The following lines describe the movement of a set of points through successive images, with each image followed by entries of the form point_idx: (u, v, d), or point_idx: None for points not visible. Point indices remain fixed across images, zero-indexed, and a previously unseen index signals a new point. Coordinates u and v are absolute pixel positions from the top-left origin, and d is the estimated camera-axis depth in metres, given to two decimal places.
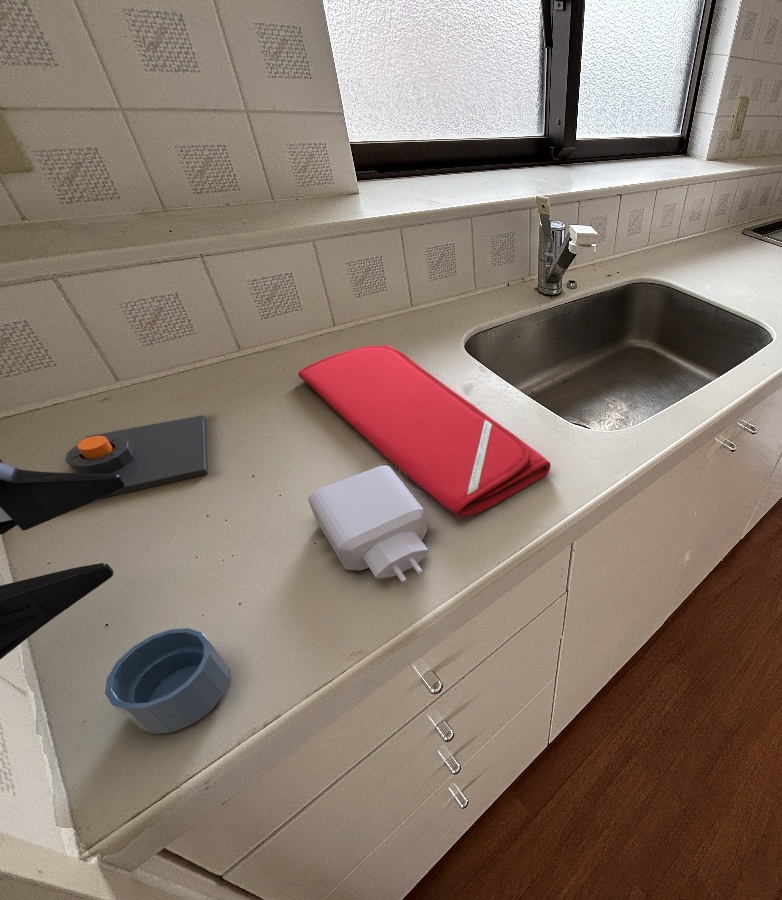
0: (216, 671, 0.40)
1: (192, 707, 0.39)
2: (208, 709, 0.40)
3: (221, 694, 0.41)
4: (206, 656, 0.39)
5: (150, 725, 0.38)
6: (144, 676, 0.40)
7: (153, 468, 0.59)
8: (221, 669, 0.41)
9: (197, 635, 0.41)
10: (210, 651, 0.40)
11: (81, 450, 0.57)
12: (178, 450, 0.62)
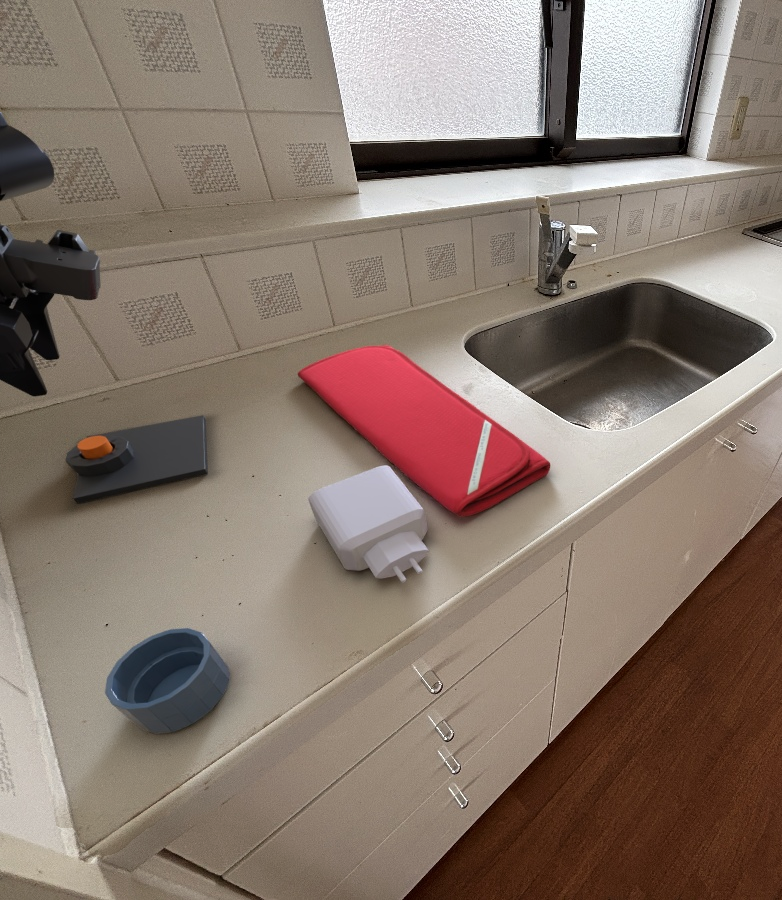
0: (216, 671, 0.40)
1: (192, 707, 0.39)
2: (208, 709, 0.40)
3: (221, 694, 0.41)
4: (206, 656, 0.39)
5: (150, 725, 0.38)
6: (144, 676, 0.40)
7: (153, 468, 0.59)
8: (221, 669, 0.41)
9: (197, 635, 0.41)
10: (210, 651, 0.40)
11: (81, 450, 0.57)
12: (178, 450, 0.62)
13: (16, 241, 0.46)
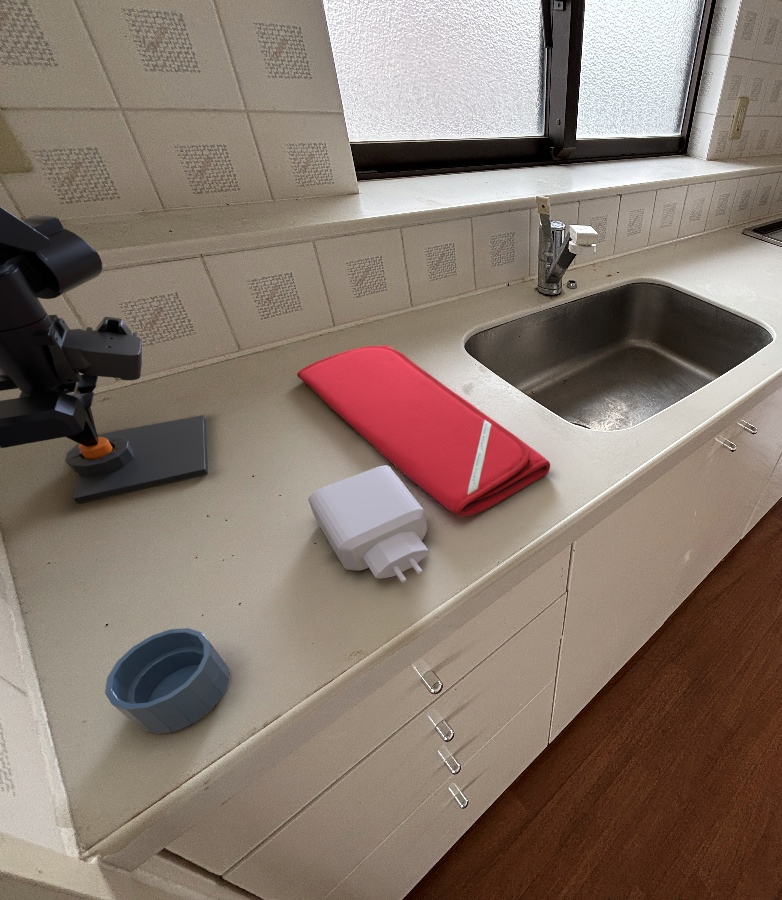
0: (216, 671, 0.40)
1: (192, 707, 0.39)
2: (208, 709, 0.40)
3: (221, 694, 0.41)
4: (206, 656, 0.39)
5: (150, 725, 0.38)
6: (144, 676, 0.40)
7: (153, 468, 0.59)
8: (221, 669, 0.41)
9: (197, 635, 0.41)
10: (210, 651, 0.40)
11: (82, 451, 0.57)
12: (178, 450, 0.62)
13: (71, 331, 0.52)
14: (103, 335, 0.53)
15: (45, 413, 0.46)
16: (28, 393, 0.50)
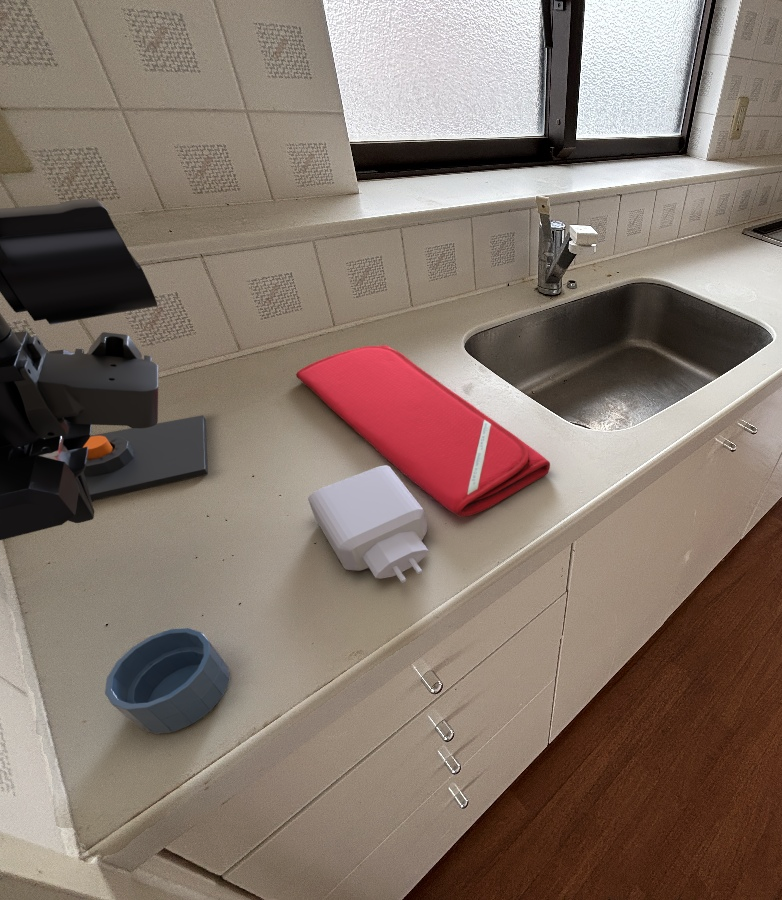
0: (216, 671, 0.40)
1: (192, 707, 0.39)
2: (208, 709, 0.40)
3: (221, 694, 0.41)
4: (206, 656, 0.39)
5: (150, 725, 0.38)
6: (144, 676, 0.40)
7: (153, 468, 0.59)
8: (221, 669, 0.41)
9: (197, 635, 0.41)
10: (210, 651, 0.40)
11: None
12: (178, 450, 0.62)
13: (51, 356, 0.34)
14: (101, 361, 0.35)
15: (12, 495, 0.28)
16: None
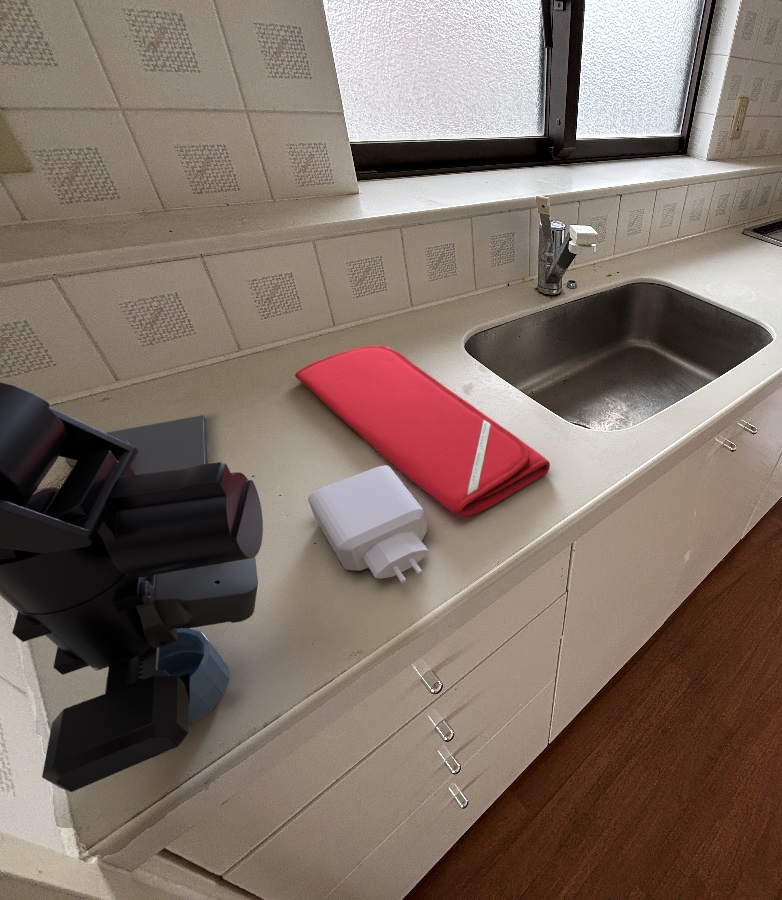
0: (216, 671, 0.40)
1: (192, 707, 0.39)
2: (208, 709, 0.40)
3: (221, 694, 0.41)
4: (206, 656, 0.39)
5: None
6: None
7: (153, 468, 0.59)
8: (221, 669, 0.41)
9: (197, 635, 0.41)
10: (210, 651, 0.40)
11: None
12: (178, 450, 0.62)
13: None
14: None
15: (138, 732, 0.30)
16: None
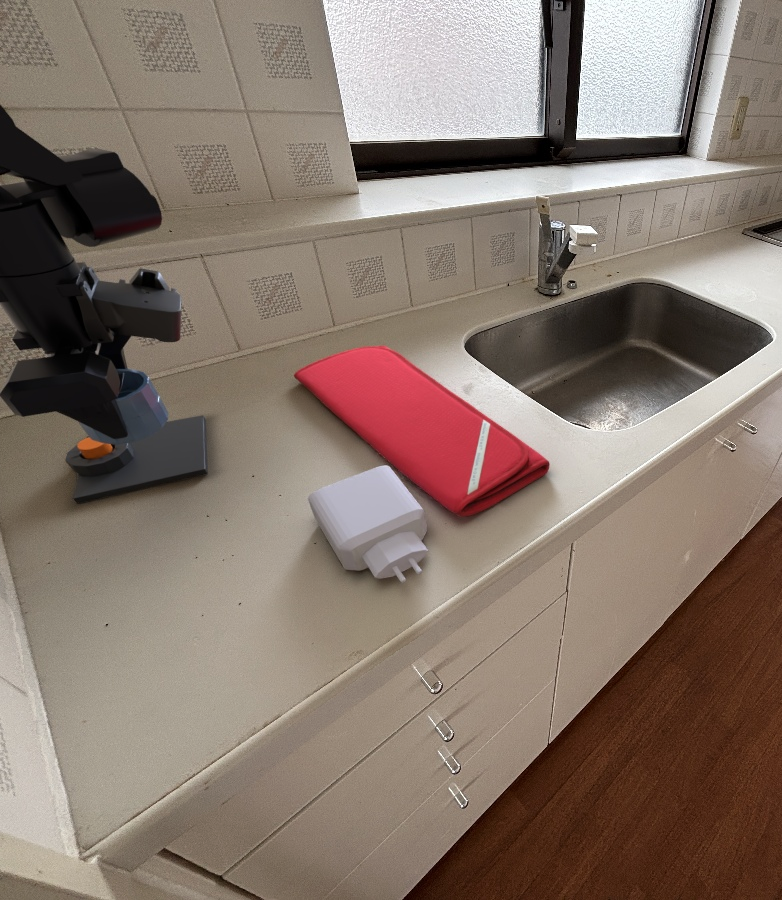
0: (154, 402, 0.50)
1: (133, 422, 0.48)
2: (148, 432, 0.49)
3: (159, 424, 0.50)
4: (145, 384, 0.48)
5: None
6: None
7: (153, 468, 0.59)
8: (159, 404, 0.50)
9: (139, 373, 0.50)
10: (149, 383, 0.49)
11: (81, 450, 0.57)
12: (178, 450, 0.62)
13: (101, 283, 0.44)
14: (138, 289, 0.46)
15: (73, 375, 0.39)
16: None
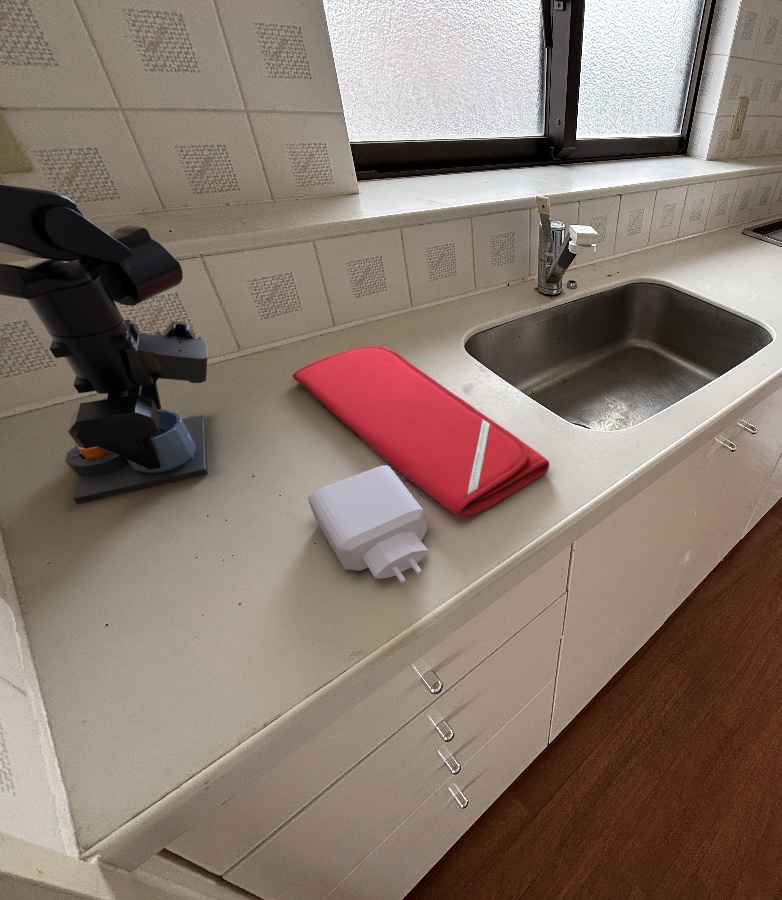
0: (185, 437, 0.60)
1: (168, 454, 0.58)
2: (180, 462, 0.59)
3: (189, 455, 0.60)
4: (178, 422, 0.58)
5: None
6: None
7: None
8: (189, 438, 0.60)
9: (172, 413, 0.60)
10: (181, 421, 0.59)
11: (81, 450, 0.57)
12: None
13: (143, 335, 0.54)
14: (172, 339, 0.55)
15: (126, 415, 0.48)
16: None
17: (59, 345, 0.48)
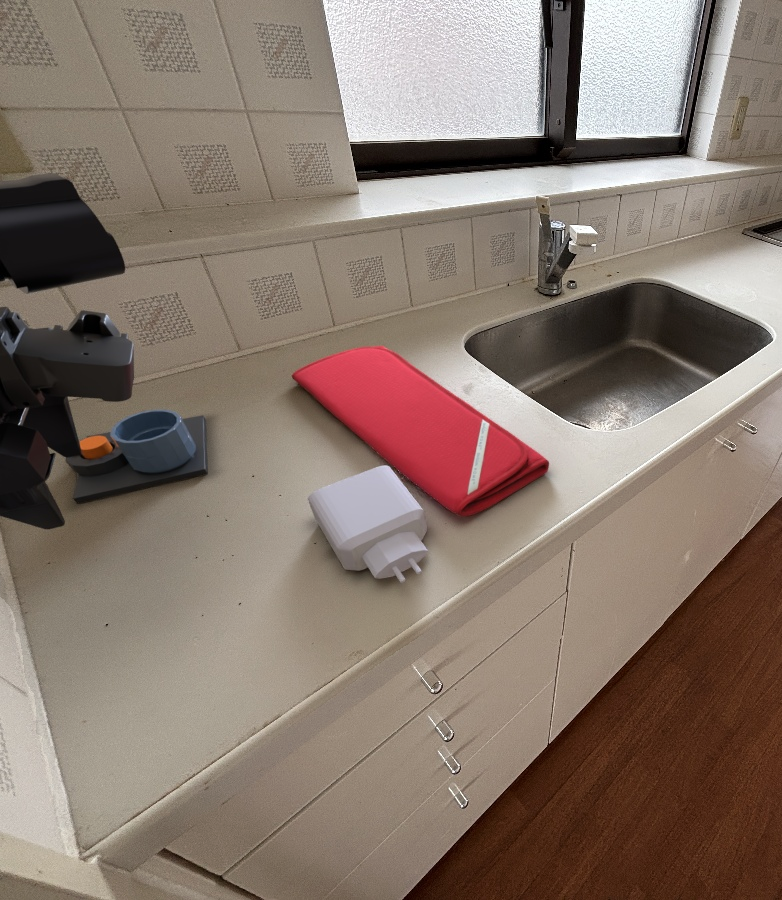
0: (185, 437, 0.60)
1: (168, 454, 0.58)
2: (180, 462, 0.59)
3: (189, 455, 0.60)
4: (178, 422, 0.58)
5: (140, 462, 0.57)
6: (136, 438, 0.59)
7: None
8: (189, 438, 0.60)
9: (172, 413, 0.60)
10: (181, 421, 0.59)
11: (81, 450, 0.57)
12: None
13: (29, 331, 0.35)
14: (78, 337, 0.37)
15: None
16: None
17: None
